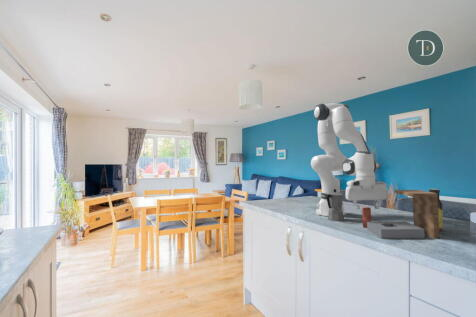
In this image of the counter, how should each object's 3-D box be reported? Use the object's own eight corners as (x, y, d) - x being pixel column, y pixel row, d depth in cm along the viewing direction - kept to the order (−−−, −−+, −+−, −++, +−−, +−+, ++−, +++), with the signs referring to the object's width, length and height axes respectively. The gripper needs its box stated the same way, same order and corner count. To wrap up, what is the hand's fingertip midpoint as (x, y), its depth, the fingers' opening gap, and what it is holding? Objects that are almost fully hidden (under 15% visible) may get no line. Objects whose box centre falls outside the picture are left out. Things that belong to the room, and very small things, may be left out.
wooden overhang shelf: (396, 229, 120) (395, 190, 120) (418, 229, 119) (416, 189, 119) (414, 238, 106) (412, 193, 106) (439, 238, 105) (437, 193, 105)
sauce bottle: (423, 229, 119) (421, 188, 120) (431, 227, 122) (429, 187, 122) (438, 232, 113) (436, 190, 114) (446, 230, 115) (444, 189, 116)
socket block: (367, 229, 121) (366, 221, 121) (405, 229, 119) (405, 221, 120) (381, 238, 107) (380, 229, 107) (424, 238, 106) (424, 229, 106)
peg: (361, 226, 128) (360, 207, 128) (369, 226, 128) (368, 207, 128) (364, 228, 124) (363, 208, 124) (372, 228, 124) (372, 208, 124)
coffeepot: (334, 216, 152) (333, 187, 153) (349, 218, 145) (347, 188, 145) (320, 220, 142) (319, 189, 143) (335, 223, 135) (334, 191, 136)
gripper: (383, 181, 128) (385, 207, 128) (343, 182, 130) (345, 208, 129) (389, 181, 122) (391, 209, 121) (347, 182, 124) (349, 210, 123)
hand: (367, 208), depth 125 cm, fingers open, 8 cm apart
